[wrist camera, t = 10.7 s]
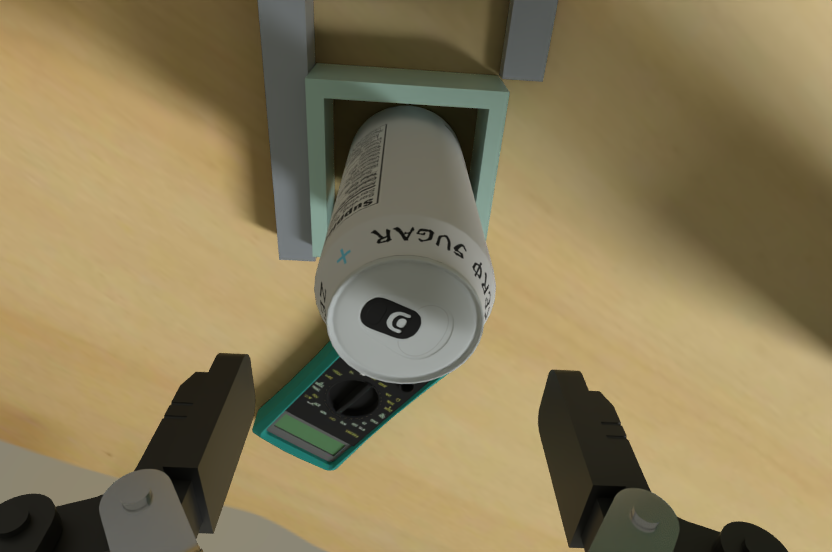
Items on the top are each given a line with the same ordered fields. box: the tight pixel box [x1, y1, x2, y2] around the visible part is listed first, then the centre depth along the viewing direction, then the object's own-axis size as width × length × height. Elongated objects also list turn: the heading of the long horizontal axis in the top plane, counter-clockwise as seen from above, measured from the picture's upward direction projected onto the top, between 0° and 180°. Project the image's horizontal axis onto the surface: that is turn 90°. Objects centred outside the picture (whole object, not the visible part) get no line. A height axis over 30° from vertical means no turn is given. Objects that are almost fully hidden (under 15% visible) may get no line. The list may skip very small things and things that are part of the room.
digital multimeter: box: [252, 341, 449, 470], centre depth 37 cm, size 7×15×3 cm, turn 139°
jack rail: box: [258, 0, 558, 261], centre depth 23 cm, size 13×25×4 cm, turn 176°
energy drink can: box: [314, 106, 496, 384], centre depth 22 cm, size 6×6×15 cm
